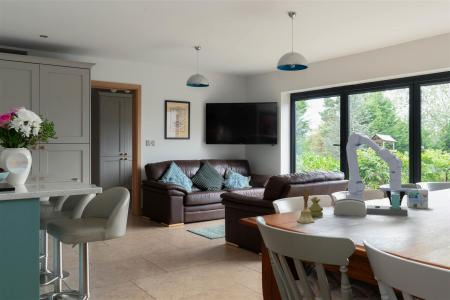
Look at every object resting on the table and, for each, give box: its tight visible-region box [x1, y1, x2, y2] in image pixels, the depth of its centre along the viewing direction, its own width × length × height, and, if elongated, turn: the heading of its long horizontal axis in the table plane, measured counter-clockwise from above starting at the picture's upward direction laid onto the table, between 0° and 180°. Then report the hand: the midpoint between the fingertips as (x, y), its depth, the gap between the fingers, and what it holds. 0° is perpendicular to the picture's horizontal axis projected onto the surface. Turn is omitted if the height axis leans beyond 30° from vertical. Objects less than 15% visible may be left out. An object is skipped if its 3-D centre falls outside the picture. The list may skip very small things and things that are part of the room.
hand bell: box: [296, 188, 315, 224], centre depth 183 cm, size 8×8×16 cm
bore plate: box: [366, 204, 409, 217], centre depth 205 cm, size 20×12×3 cm, turn 67°
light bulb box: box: [406, 188, 429, 209], centre depth 225 cm, size 11×7×11 cm, turn 73°
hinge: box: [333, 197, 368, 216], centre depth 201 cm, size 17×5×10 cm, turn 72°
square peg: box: [390, 193, 401, 209], centre depth 203 cm, size 4×4×8 cm
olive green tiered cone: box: [308, 196, 324, 218], centre depth 197 cm, size 7×8×10 cm
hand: (395, 205), depth 203 cm, fingers closed on square peg, 4 cm apart
